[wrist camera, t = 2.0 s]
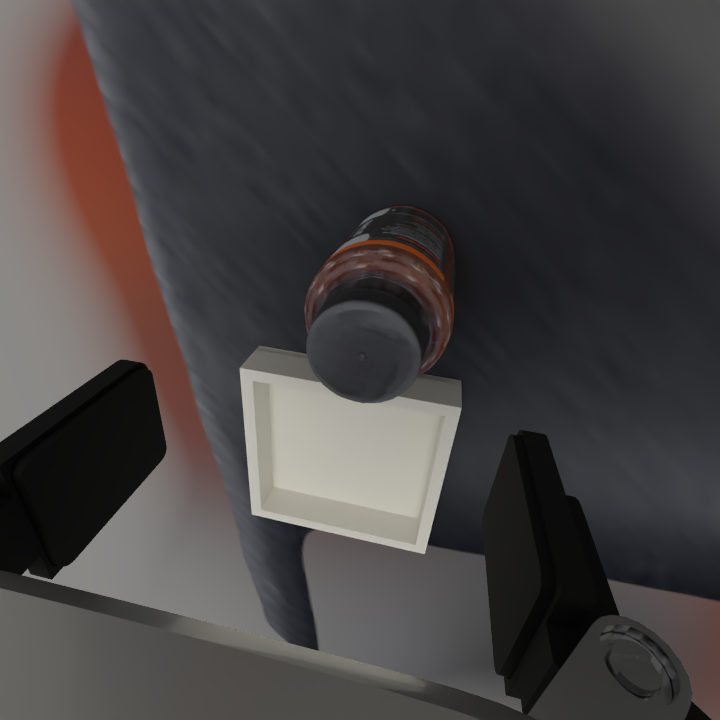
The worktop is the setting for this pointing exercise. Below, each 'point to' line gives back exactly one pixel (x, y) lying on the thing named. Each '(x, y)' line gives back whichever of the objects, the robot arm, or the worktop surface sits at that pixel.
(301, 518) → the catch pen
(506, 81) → the worktop surface
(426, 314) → the supplement bottle
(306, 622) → the worktop surface
